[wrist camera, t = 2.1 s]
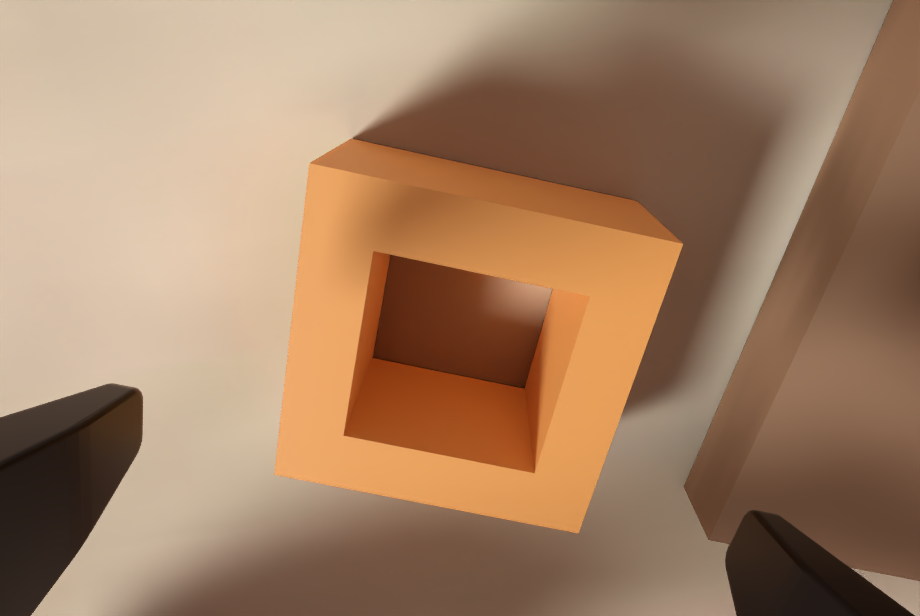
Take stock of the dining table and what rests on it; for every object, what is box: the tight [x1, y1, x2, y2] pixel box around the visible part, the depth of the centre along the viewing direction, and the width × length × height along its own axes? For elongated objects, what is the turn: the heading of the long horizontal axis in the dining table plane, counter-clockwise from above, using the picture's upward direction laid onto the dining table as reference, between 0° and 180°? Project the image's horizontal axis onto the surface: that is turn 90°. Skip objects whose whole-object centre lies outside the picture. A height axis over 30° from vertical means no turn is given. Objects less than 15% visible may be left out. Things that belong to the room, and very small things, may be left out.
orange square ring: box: [274, 139, 683, 533], centre depth 13 cm, size 7×7×4 cm
